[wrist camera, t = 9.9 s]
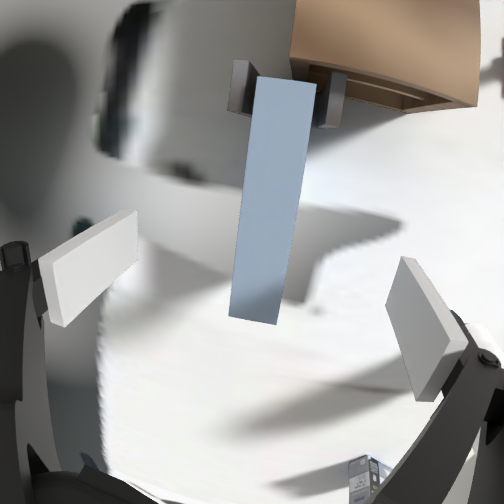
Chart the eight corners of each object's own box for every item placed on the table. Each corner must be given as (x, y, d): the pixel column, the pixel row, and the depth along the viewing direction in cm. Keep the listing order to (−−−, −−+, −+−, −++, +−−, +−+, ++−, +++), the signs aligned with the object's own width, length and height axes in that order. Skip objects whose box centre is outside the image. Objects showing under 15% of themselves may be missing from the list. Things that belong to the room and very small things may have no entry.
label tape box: (394, 469, 40) (401, 529, 29) (374, 478, 42) (378, 537, 30) (367, 453, 39) (373, 521, 28) (346, 463, 40) (347, 529, 29)
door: (273, 97, 25) (255, 75, 15) (310, 103, 24) (316, 84, 14) (252, 252, 30) (226, 315, 20) (285, 258, 30) (276, 324, 20)
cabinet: (277, -46, 19) (260, -124, 8) (417, -18, 18) (467, -77, 7) (253, 118, 26) (218, 108, 14) (403, 146, 24) (469, 160, 13)
